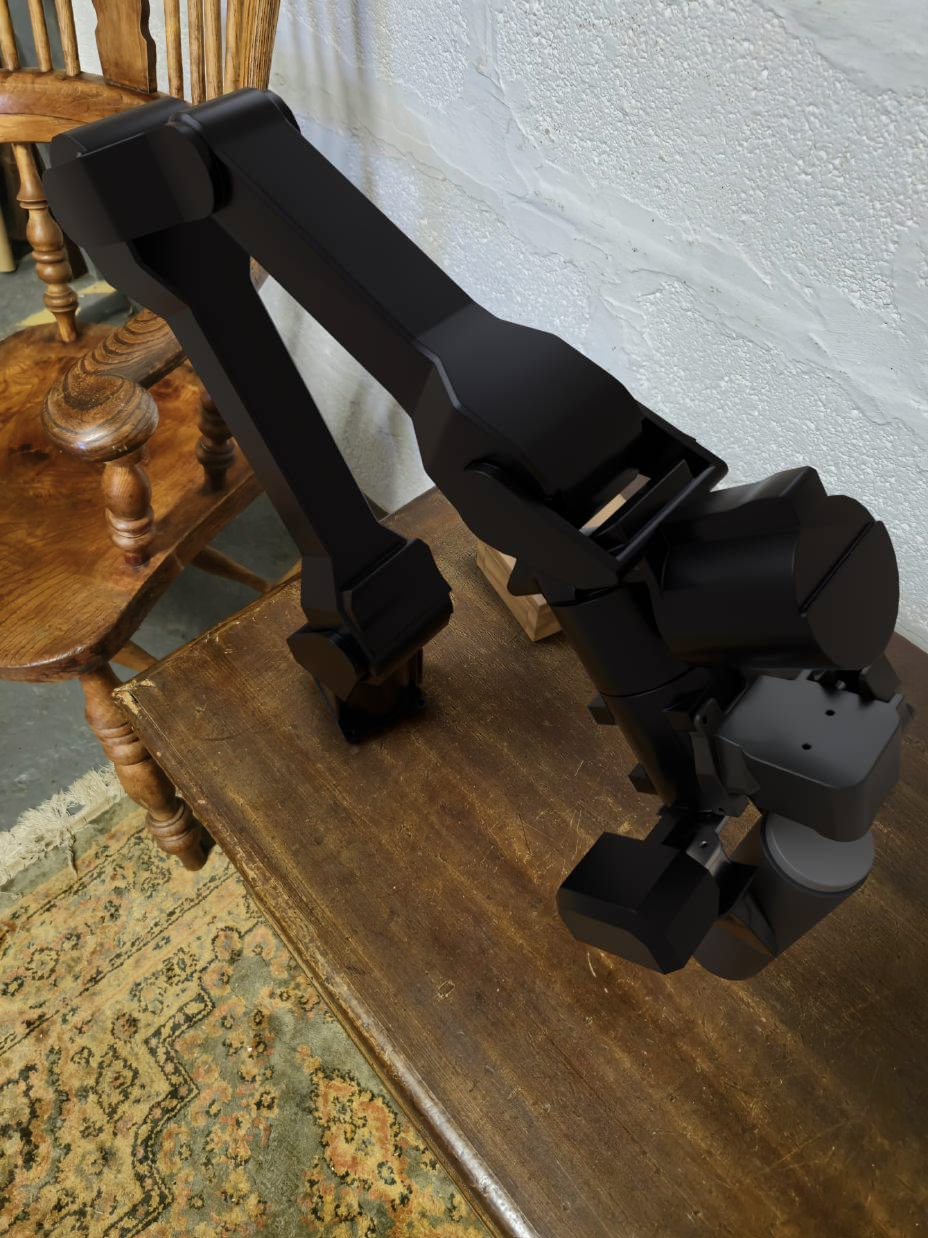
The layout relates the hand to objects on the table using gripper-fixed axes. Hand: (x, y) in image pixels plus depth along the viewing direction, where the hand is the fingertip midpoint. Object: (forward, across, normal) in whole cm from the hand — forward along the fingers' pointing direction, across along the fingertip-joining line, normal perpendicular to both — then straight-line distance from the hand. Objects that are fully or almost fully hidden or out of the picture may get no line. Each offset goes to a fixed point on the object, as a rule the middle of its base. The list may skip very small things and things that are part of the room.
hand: (793, 911), depth 41 cm
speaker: (+4, 0, +6) cm, 7 cm away
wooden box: (-10, +19, +26) cm, 34 cm away
